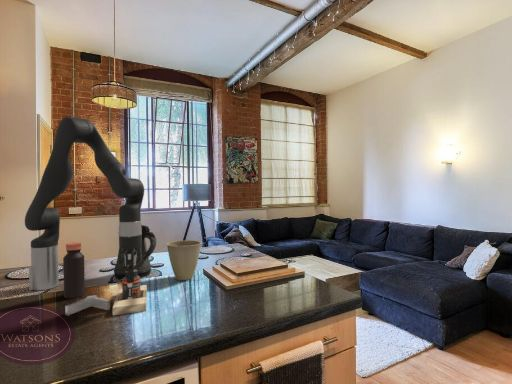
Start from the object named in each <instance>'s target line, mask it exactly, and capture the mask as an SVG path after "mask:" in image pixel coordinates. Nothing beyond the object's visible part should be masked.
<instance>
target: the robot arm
mask: <svg viewBox="0 0 512 384" xmlns="http://www.w3.org/2000/svg"><path fill="white" fill-rule="evenodd" d="M57 126H58V127H57V129H56V133H55V138H54V141H53V147H52V150H51V153H50V155H49V159H48V162H47V164H46V166H45V168H44V171H43V173H42V176H41V180H40V182H39V186H38V188H37V191H36V193H35V195H34V198H33V199H32V201H31V203H30V205H29V206H28V209H27V210H26V213H25V216H24V225H25V228H26V229H27V230H28V231H32V232H36V231H37V232H38V231H44V232H43V233H42V234H41V235H39V236H37V237H35V238H34V239H32V240H31V241H30V266H29V267H28V273H29V274H28V278H29V283H28V287H29V291H45V290H50V289H53V288H57V287H58V286H59V283H60V278H59V240H60V224H61V217H60V212H59V210H58V209H57V208H56V207H51V206H50V207H49V205H50V204H51V202H53V201H54V200H56V199H57V198H58V197H59V196H61V195H62V194H63V193H64V192H65V191H66V190H67V189H68V187H69V185H70V183H71V181H72V178H73V176H74V169H73V165H72V162H71V160H70V159H71V158H70V152H71V148H72V146H73V144H74V143H75V144H86V145H87V146H88V147H89V148H90V149H91V150H92V151H93V155H94V162H95V165H96V167H97V168H98V169H99V170H100V172H101V173H102V174H103V176H104V177H106V178H107V181H108V183H109V186H110V187H111V188H110V189H111V190H112V192H113V193H114V194H115V195H116V196H117V197H119V198H122V199H126V202H125V204H123V205H121V206H120V207H119V209H118V217H119V218H118V219H119V222H118V233H119V234H118V249H119V248H121V249H127V252H125V254H124V257H125V266H126V269H125V271H126V272H127V283H133V282H134V270H135V265H136V261H137V251H136V250H135V249H136V248H138V247H141V246H142V227H141V225H142V221H141V218H142V217H141V215H142V214H141V208H142V204H143V200H144V196H145V187H144V184H143V182H142V180H140V179H139V178H132V177H130V178H129V177H127V176H126V174H127V170H126V167H125V166H124V165H123V164H122V163H121V161H120V160H119V159H118V158H117V157H116V156H115V155H114V154H113V153H112V151H111V149H109V147H108V146H107V143H106V142H105V141H104V138H103V137H102V136H101V133H99V131H98V129H97V128H96V126H95V124H94V123H93V122H92V121H90V120H88V119H86V118H81V117H74V116H65V117H62V119H61V120H60V122H59V123H58V125H57ZM128 266H129V268H128Z"/></svg>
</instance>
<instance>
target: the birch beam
mask: <svg viewBox="0 0 512 384" xmlns="http://www.w3.org/2000/svg"><path fill="white" fill-rule="evenodd" d="M147 285H148V284H142V285H141V284H140V293H141V294H140V298H135V299H127V300H122V287H118V289H117V294H116V296H115V300H114V302H113V306H112V316H117V315H126V314H133V313H140V312H146V311H147V297H148V296H147V295H148V294H147V293H148V287H147Z"/></svg>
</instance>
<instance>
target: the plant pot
mask: <svg viewBox="0 0 512 384" xmlns="http://www.w3.org/2000/svg"><path fill="white" fill-rule="evenodd" d="M201 244H202V241H199V240H192V239H191V240H190V239H189V240H176V241H175V240H174V241H170V242H168V243H167V245H166V247H167V253H168V257H169V262H170V265H171V269H172V271H173V275H174V277H175V279H176V280H178V281H188V280H191V279H193V277H194V275H195V271H196V270H197V265H198V261H199V256H200V251H201V246H202V245H201Z"/></svg>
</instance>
